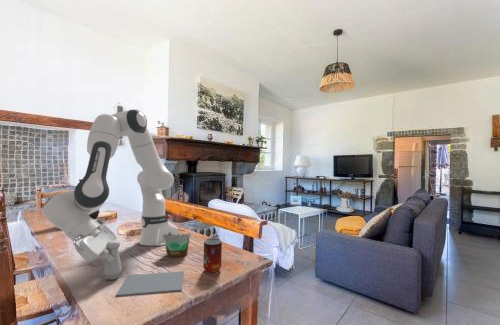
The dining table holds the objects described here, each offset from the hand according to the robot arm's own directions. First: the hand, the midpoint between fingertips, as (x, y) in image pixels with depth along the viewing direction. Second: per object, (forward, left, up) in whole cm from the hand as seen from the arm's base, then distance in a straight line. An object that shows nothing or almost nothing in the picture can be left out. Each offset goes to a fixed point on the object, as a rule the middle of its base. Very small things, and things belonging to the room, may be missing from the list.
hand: (114, 257), depth 89 cm
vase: (-14, -97, -8) cm, 99 cm away
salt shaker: (0, 0, -7) cm, 7 cm away
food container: (-27, -3, -8) cm, 29 cm away
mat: (-8, +13, -7) cm, 17 cm away
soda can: (-29, +20, -8) cm, 36 cm away
